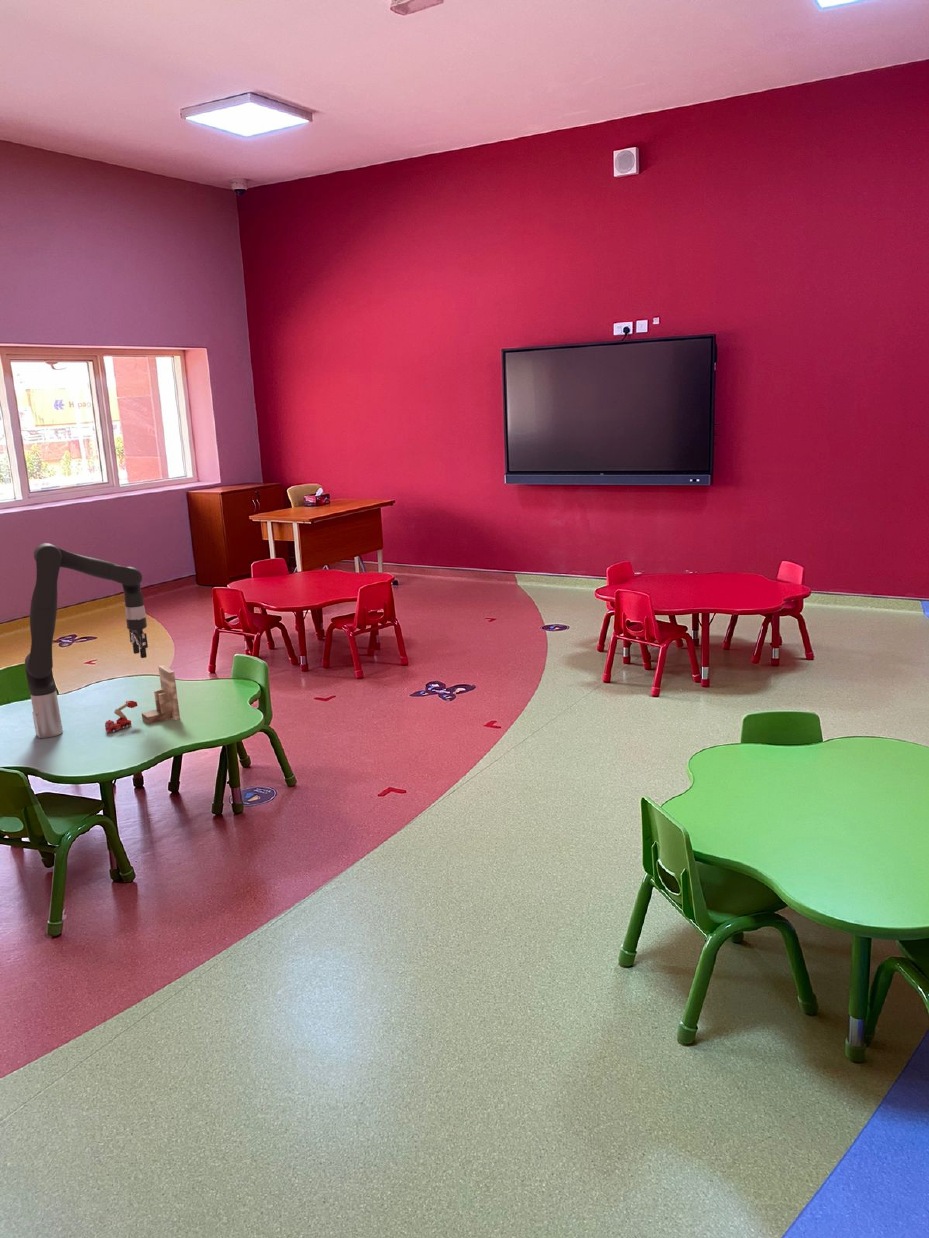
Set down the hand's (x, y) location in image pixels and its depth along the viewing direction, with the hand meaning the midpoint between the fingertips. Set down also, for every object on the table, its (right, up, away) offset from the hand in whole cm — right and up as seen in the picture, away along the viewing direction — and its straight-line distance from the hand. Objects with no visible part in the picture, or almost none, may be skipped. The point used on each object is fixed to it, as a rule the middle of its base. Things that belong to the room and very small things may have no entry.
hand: (140, 655), depth 372 cm
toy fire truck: (-4, -29, -8) cm, 30 cm away
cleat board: (+8, -26, 0) cm, 27 cm away
